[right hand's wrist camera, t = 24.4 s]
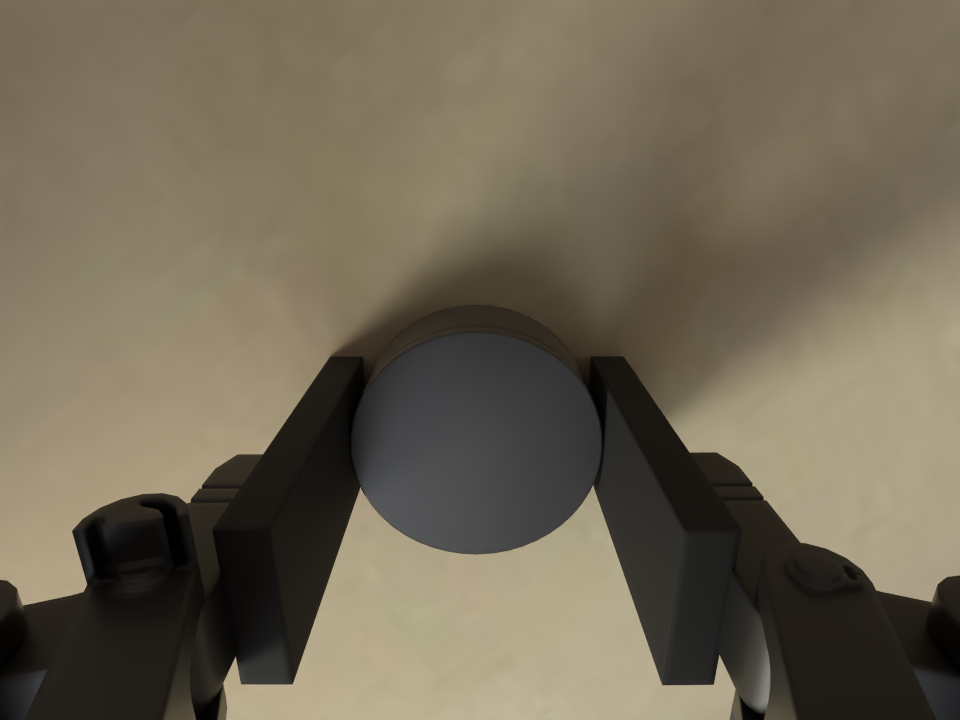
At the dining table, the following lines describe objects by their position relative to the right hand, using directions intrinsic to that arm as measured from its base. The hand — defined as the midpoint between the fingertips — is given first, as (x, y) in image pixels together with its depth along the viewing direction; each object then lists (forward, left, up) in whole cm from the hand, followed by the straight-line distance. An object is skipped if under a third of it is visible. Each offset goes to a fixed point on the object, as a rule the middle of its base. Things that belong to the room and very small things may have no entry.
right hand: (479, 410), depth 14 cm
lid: (0, 0, +2) cm, 2 cm away
